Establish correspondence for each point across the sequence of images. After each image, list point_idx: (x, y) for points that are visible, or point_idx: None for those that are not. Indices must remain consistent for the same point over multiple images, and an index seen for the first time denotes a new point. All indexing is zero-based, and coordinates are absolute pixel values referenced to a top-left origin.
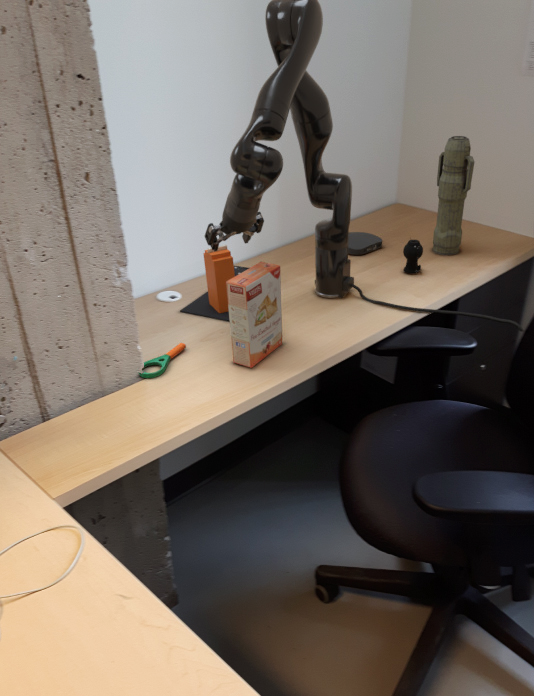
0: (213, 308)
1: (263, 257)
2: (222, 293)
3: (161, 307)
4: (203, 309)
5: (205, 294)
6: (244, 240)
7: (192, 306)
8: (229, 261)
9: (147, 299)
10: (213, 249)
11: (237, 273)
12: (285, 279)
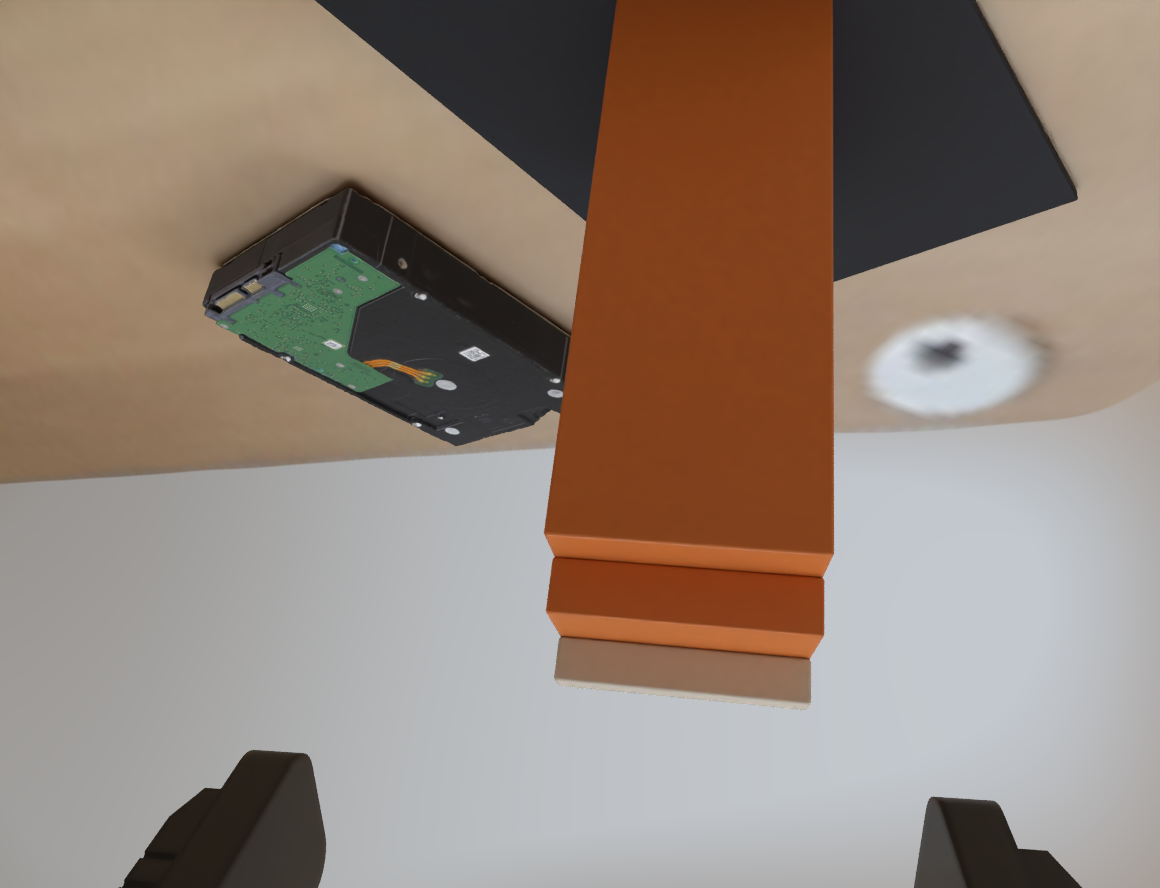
0: None
1: (281, 445)
2: (766, 161)
3: (1119, 294)
4: (906, 131)
5: None
6: (298, 816)
7: (943, 210)
8: (604, 493)
9: (1089, 392)
10: (1026, 861)
11: (459, 388)
12: (136, 246)
